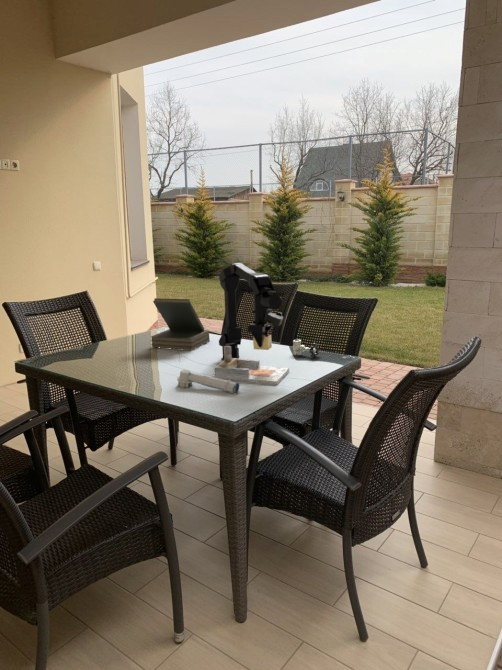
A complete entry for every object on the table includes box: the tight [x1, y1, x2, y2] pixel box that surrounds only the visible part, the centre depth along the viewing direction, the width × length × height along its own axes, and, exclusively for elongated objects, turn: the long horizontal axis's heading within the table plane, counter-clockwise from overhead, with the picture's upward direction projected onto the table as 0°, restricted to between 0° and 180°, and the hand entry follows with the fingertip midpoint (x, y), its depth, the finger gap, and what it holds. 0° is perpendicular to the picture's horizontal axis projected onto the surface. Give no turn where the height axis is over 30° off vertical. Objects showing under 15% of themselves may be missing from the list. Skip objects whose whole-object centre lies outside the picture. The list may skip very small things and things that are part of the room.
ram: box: [218, 346, 238, 368], centre depth 196 cm, size 4×10×10 cm, turn 160°
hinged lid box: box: [150, 297, 211, 351], centre depth 247 cm, size 23×20×25 cm
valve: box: [292, 339, 320, 358], centre depth 221 cm, size 7×7×12 cm
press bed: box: [212, 358, 290, 386], centre depth 194 cm, size 26×18×4 cm
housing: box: [252, 334, 273, 351], centre depth 194 cm, size 6×5×5 cm
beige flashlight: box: [177, 369, 240, 394], centre depth 180 cm, size 5×7×25 cm
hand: (262, 345), depth 195 cm, fingers closed on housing, 5 cm apart
